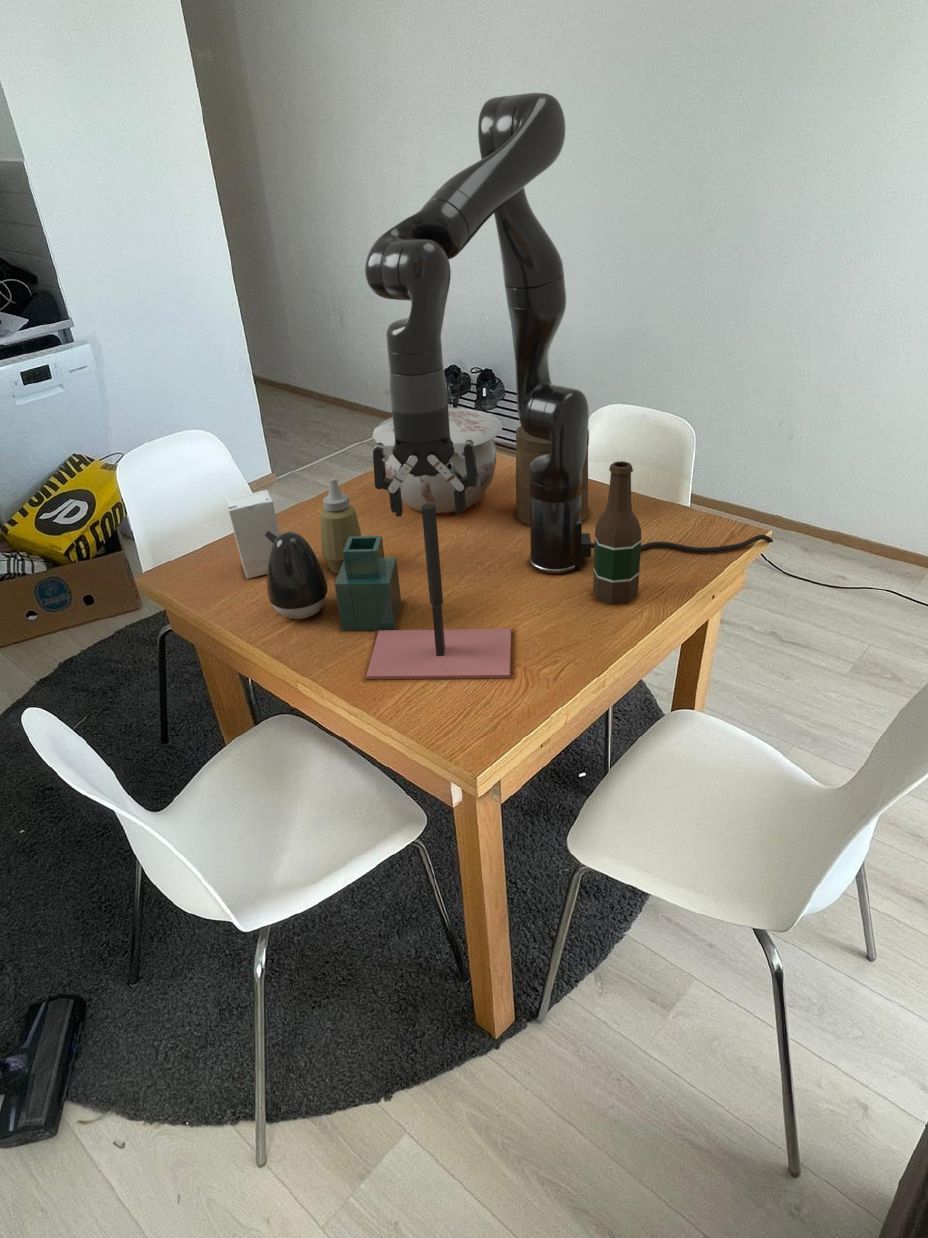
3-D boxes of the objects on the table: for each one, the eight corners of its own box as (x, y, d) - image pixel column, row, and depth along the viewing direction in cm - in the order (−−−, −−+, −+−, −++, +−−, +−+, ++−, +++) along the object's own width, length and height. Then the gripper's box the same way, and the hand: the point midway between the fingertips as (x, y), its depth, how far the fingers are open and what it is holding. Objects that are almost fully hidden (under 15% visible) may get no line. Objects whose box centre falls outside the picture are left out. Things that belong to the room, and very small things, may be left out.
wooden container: (577, 496, 180) (579, 396, 169) (595, 524, 168) (599, 419, 156) (510, 503, 179) (507, 403, 168) (524, 532, 167) (522, 427, 155)
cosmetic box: (283, 558, 163) (269, 488, 155) (288, 571, 158) (274, 499, 150) (240, 567, 161) (224, 496, 153) (244, 580, 156) (228, 508, 148)
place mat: (511, 631, 136) (511, 628, 135) (510, 678, 125) (509, 674, 124) (379, 633, 137) (378, 630, 137) (366, 679, 126) (366, 676, 126)
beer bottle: (610, 610, 139) (616, 477, 127) (583, 591, 145) (587, 461, 133) (647, 597, 142) (656, 466, 130) (619, 579, 148) (626, 451, 136)
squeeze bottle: (359, 578, 154) (347, 489, 145) (318, 576, 156) (303, 487, 146) (372, 558, 161) (360, 471, 151) (332, 556, 162) (319, 470, 153)
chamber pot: (447, 468, 199) (441, 382, 188) (530, 497, 181) (529, 405, 170) (354, 504, 183) (341, 413, 172) (434, 541, 166) (426, 442, 155)
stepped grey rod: (447, 646, 132) (436, 502, 119) (446, 656, 130) (434, 510, 116) (435, 647, 132) (422, 502, 119) (433, 656, 130) (420, 510, 117)
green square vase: (401, 602, 146) (393, 530, 138) (394, 629, 138) (385, 555, 131) (351, 603, 146) (340, 532, 139) (341, 630, 139) (330, 556, 131)
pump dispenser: (300, 591, 151) (286, 515, 143) (342, 605, 146) (330, 527, 138) (259, 616, 144) (242, 538, 136) (301, 632, 139) (286, 552, 131)
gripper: (361, 413, 107) (376, 526, 116) (471, 408, 106) (477, 523, 114) (370, 395, 113) (383, 504, 122) (474, 391, 112) (480, 501, 121)
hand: (429, 513), depth 118 cm, fingers open, 8 cm apart
